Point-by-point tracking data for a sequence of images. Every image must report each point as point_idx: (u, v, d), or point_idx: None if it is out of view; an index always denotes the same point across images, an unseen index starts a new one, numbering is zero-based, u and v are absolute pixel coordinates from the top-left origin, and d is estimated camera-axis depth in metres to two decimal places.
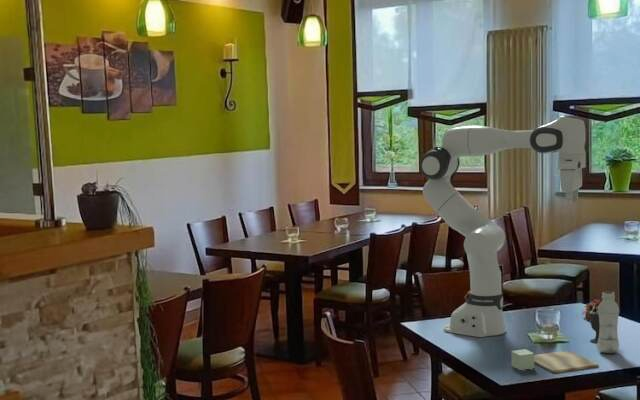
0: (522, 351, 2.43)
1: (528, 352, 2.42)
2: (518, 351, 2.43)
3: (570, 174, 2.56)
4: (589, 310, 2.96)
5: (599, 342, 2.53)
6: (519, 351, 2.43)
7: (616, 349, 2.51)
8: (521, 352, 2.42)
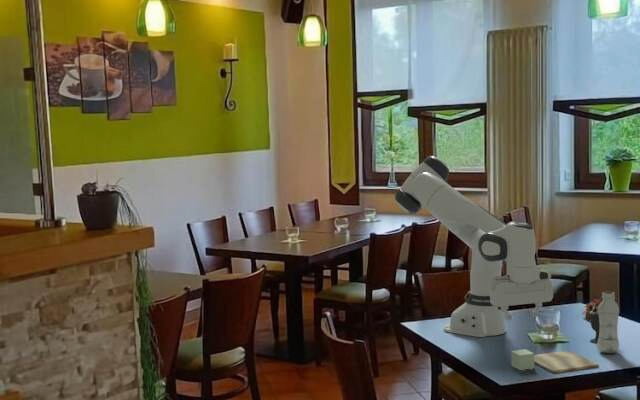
0: (522, 351, 2.43)
1: (528, 352, 2.42)
2: (518, 351, 2.43)
3: None
4: (589, 310, 2.96)
5: (599, 342, 2.53)
6: (519, 351, 2.43)
7: (616, 349, 2.51)
8: (521, 352, 2.42)
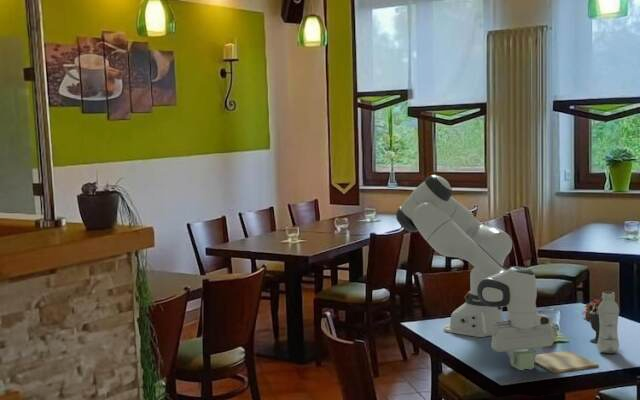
0: (522, 350, 2.43)
1: (528, 352, 2.42)
2: (518, 351, 2.43)
3: None
4: (589, 310, 2.96)
5: (599, 342, 2.53)
6: (519, 350, 2.43)
7: (616, 349, 2.51)
8: (521, 351, 2.42)
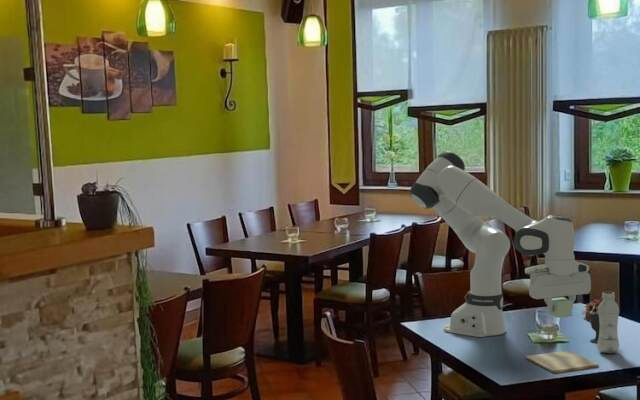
0: (560, 298, 2.45)
1: (566, 299, 2.43)
2: (556, 299, 2.45)
3: None
4: (589, 310, 2.96)
5: (599, 342, 2.53)
6: (556, 298, 2.45)
7: (616, 349, 2.51)
8: (558, 299, 2.44)
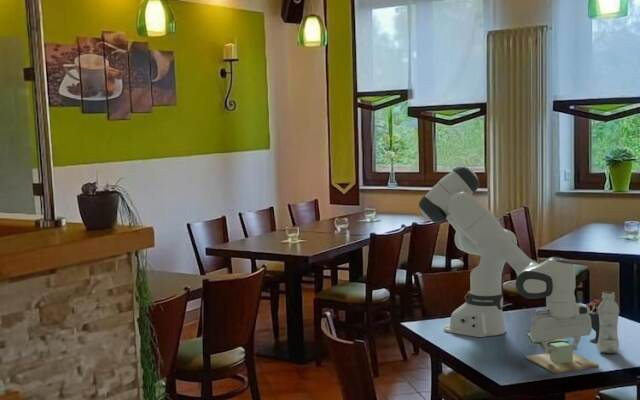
0: (561, 343, 2.46)
1: (567, 345, 2.45)
2: (556, 344, 2.46)
3: None
4: None
5: (599, 342, 2.53)
6: (557, 343, 2.46)
7: (616, 349, 2.51)
8: (559, 344, 2.45)
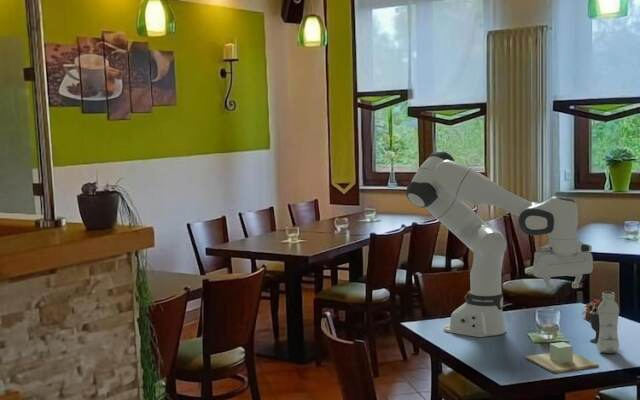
0: (561, 343, 2.46)
1: (567, 345, 2.45)
2: (556, 344, 2.46)
3: None
4: (589, 310, 2.96)
5: (599, 342, 2.53)
6: (557, 343, 2.46)
7: (616, 349, 2.51)
8: (559, 344, 2.45)
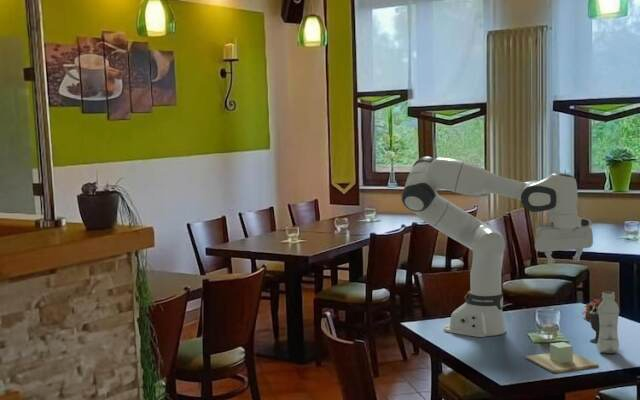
0: (561, 343, 2.46)
1: (567, 345, 2.45)
2: (556, 344, 2.46)
3: None
4: (589, 310, 2.96)
5: (599, 342, 2.53)
6: (557, 343, 2.46)
7: (616, 349, 2.51)
8: (559, 344, 2.45)
